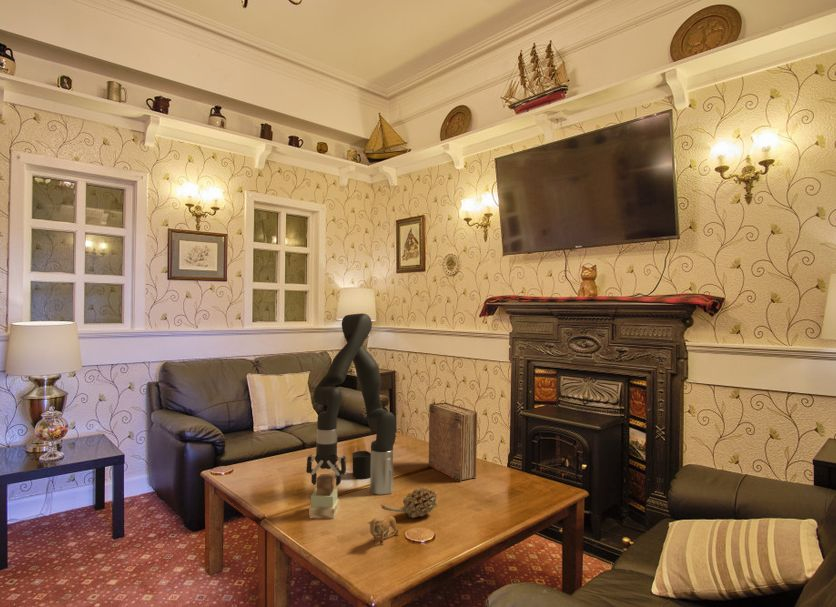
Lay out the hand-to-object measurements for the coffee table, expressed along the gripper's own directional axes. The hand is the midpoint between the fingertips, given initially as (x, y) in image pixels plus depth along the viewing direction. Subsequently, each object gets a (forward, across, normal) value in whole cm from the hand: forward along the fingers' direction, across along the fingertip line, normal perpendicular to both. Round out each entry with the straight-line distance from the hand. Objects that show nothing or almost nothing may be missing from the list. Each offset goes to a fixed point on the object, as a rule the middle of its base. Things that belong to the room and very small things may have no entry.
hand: (326, 484), depth 184 cm
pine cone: (+11, -31, 0) cm, 33 cm away
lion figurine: (+11, -24, +19) cm, 33 cm away
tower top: (+7, +1, 0) cm, 7 cm away
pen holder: (+11, -6, -42) cm, 44 cm away
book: (+11, -46, -52) cm, 70 cm away
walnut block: (+3, 0, 0) cm, 3 cm away
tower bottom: (+11, 0, 0) cm, 11 cm away
